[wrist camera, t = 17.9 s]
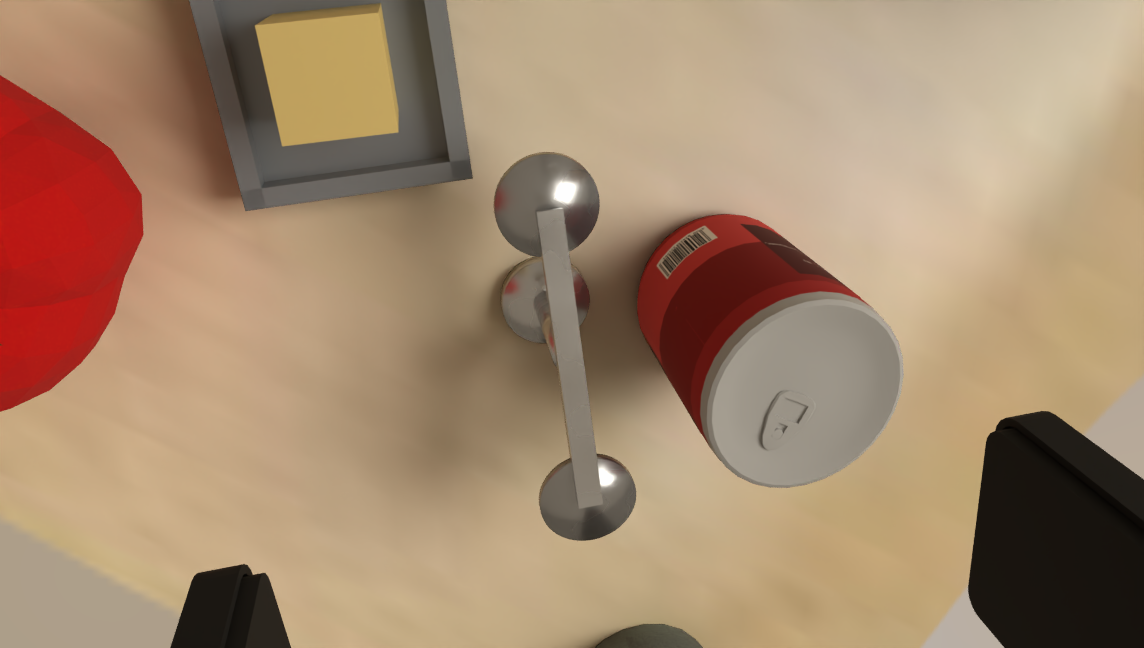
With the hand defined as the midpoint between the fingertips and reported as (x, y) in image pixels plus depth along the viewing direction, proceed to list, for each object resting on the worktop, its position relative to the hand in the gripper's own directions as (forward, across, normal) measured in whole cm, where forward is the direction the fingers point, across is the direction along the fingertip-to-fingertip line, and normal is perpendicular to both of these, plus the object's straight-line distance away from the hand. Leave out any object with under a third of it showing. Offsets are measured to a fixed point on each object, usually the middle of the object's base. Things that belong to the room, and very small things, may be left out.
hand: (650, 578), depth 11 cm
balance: (+28, -2, +8) cm, 29 cm away
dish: (+28, +5, -3) cm, 29 cm away
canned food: (+28, -10, +9) cm, 32 cm away
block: (+27, +5, -4) cm, 28 cm away
